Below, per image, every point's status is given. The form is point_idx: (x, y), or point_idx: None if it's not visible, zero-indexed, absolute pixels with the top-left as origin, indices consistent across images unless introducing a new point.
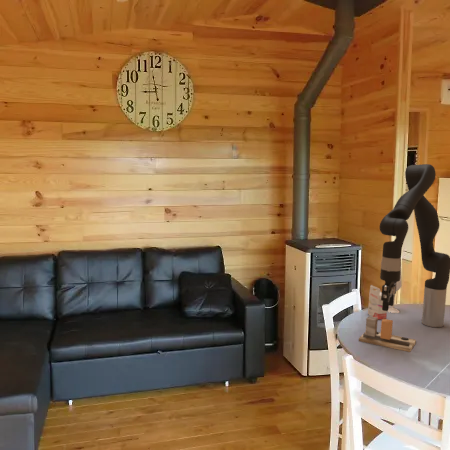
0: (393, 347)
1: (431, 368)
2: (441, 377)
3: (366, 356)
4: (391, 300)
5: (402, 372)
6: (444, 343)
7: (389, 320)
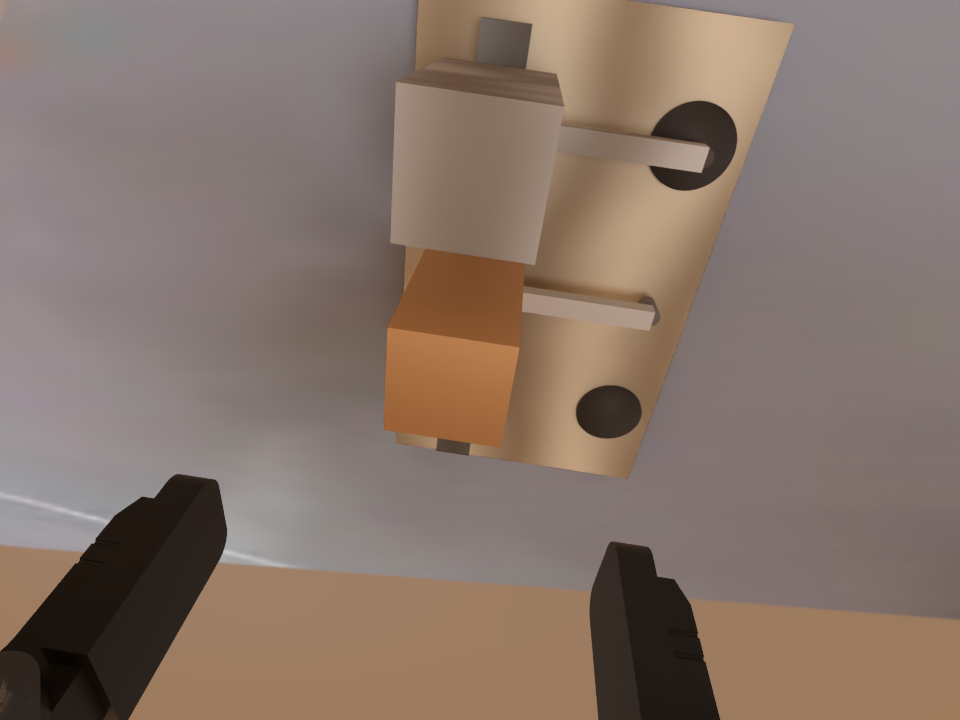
0: None
1: None
2: None
3: (72, 131)
4: (608, 688)
5: (20, 389)
6: None
7: (479, 414)
